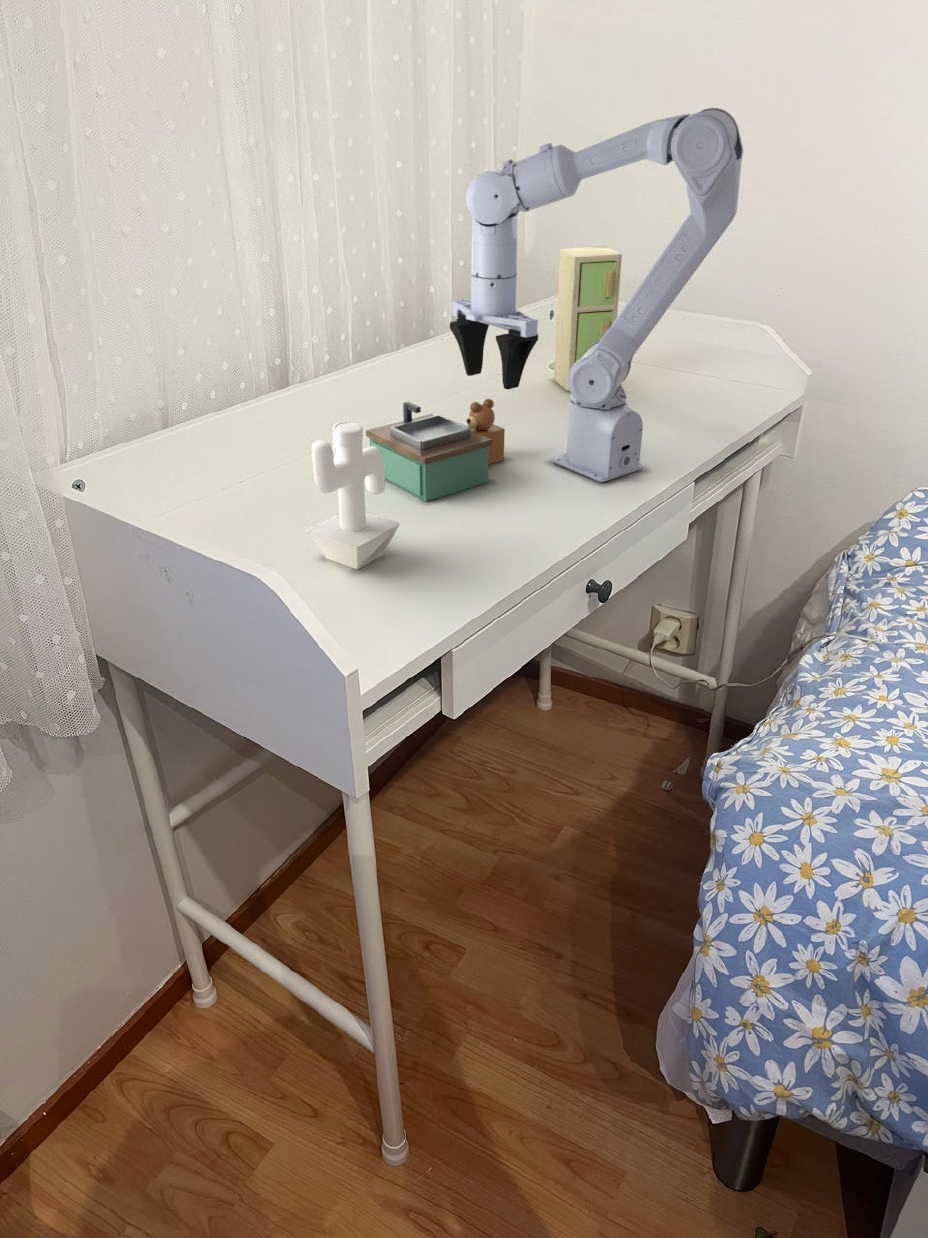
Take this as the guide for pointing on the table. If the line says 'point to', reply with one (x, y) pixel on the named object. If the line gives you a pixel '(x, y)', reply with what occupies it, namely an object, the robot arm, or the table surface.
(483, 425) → the toy bear
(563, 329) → the toy refrigerator
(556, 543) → the table surface
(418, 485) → the toy sink
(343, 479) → the figurine
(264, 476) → the table surface
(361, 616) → the table surface
